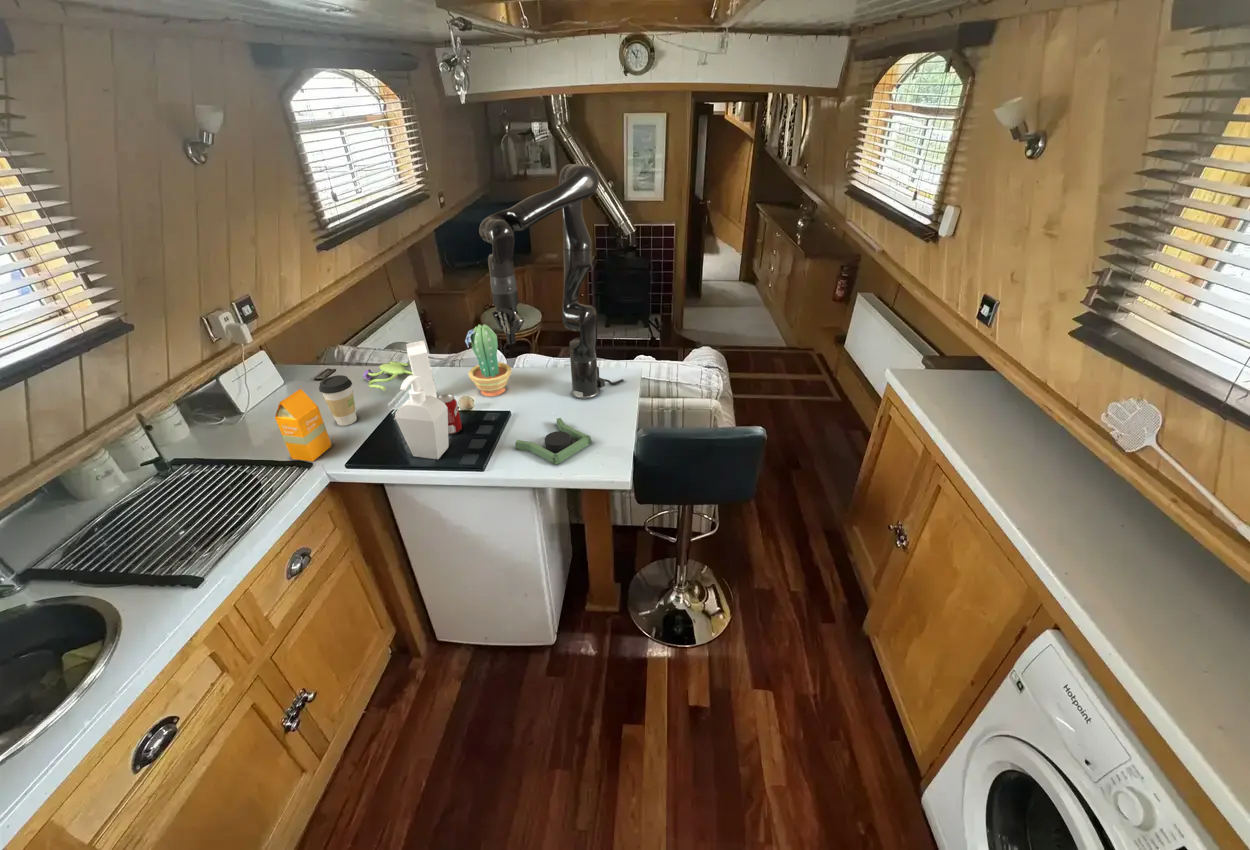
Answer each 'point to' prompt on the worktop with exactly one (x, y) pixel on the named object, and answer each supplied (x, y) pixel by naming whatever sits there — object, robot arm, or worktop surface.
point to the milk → (421, 366)
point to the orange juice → (302, 427)
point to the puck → (557, 441)
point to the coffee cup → (339, 398)
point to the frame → (562, 455)
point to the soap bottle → (423, 421)
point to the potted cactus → (487, 362)
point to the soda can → (452, 413)
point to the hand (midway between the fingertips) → (511, 343)
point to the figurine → (391, 368)
